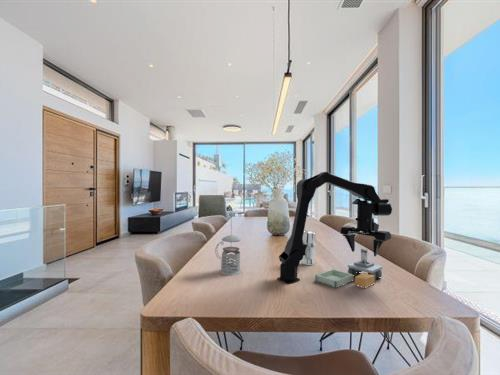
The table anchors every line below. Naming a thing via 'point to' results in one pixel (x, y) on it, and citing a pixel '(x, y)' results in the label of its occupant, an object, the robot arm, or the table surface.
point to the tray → (334, 278)
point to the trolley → (365, 268)
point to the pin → (364, 256)
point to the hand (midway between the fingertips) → (363, 253)
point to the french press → (230, 256)
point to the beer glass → (309, 247)
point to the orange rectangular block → (364, 280)
